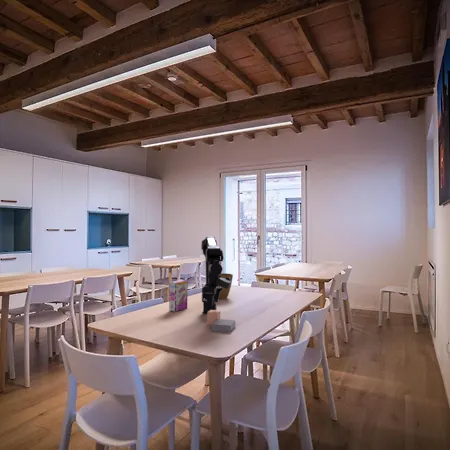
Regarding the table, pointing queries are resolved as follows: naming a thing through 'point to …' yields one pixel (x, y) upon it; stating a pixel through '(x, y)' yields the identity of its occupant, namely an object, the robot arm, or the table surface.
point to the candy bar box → (178, 295)
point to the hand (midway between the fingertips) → (213, 304)
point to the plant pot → (225, 291)
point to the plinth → (223, 325)
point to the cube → (212, 316)
